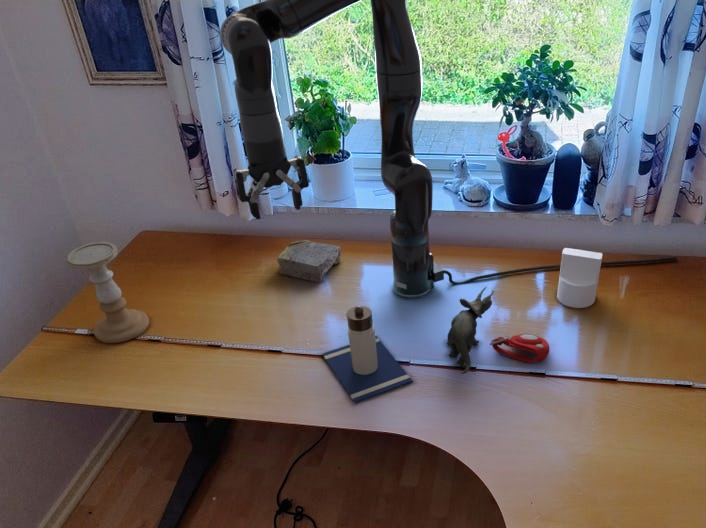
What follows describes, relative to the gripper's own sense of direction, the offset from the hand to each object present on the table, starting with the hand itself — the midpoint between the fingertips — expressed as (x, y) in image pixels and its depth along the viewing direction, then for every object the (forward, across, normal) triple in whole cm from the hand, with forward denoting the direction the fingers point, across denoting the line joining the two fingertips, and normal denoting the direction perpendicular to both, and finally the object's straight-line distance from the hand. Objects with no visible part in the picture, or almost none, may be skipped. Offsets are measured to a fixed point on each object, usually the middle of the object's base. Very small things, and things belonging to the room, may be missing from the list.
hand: (277, 213), depth 129 cm
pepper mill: (+28, +7, -23) cm, 37 cm away
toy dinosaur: (+28, +27, -29) cm, 49 cm away
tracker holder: (+28, +39, -34) cm, 59 cm away
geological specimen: (+28, +11, +23) cm, 38 cm away
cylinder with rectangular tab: (+28, +62, -24) cm, 72 cm away
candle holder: (+28, -37, +20) cm, 51 cm away
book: (+28, +7, -23) cm, 37 cm away
